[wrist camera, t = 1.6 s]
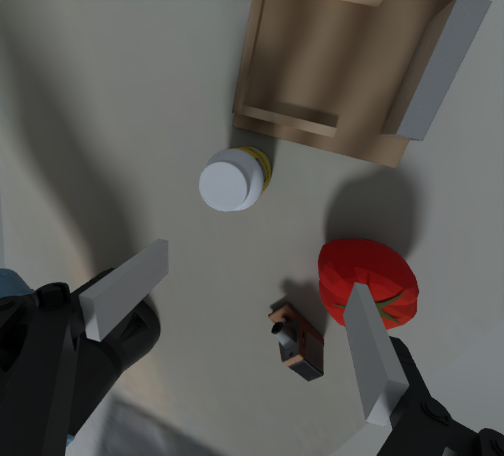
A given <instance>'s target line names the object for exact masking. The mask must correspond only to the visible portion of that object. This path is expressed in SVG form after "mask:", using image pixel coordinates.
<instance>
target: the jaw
mask: <svg viewBox="0 0 504 456" xmlns="http://www.w3.org/2000/svg"><path fill="white" fill-rule="evenodd" d="M491 3H492V1H489V0H453V1H452V2H450V3H449V4H448V5H447V6H446V7H445V8H444V9H443V10H442V11H440V12H439V13H438V14H437V15H436V16H435V17H434V18H433V19H432V20H431V21H429V22H428V23H427V25H426V27H425V29H424V32H423V34H422V36H421V39H420V41H419V44H418V46H417V48H416V51H415V53H414V55H413V58H412V60H411V62H410V65H409V67H408V69H407V72H406V74H405V76H404V79H403V81H402V84H401V86H400V88H399V91H398V93H397V95H396V98H395V100H394V102H393V105H392V107H391V109H390V112H389V114H388V117H387V119H386V121H385V124H384V126H383V128H382V131H381V133H380V135H384V136H388V137H392V138H396V139H400V140H417V141H423V139H424V137H425V135H426V133H427V131H428V129H429V127H430V125H431V123H432V121H433V119H434V117H435V115H436V113H437V111H438V109H439V107H440V105H441V103H442V101H443V99H444V97H445V95H446V93H447V91H448V89H449V87H450V85H451V83H452V81H453V79H454V77H455V75H456V73H457V71H458V69H459V67H460V65H461V63H462V61H463V59H464V57H465V55H466V53H467V51H468V49H469V47H470V45H471V43H472V41H473V39H474V37H475V35H476V33H477V31H478V29H479V27H480V25H481V23H482V21H483V19H484V17H485V15H486V13H487V11H488V9H489V7H490V5H491Z"/></svg>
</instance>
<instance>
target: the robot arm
mask: <svg viewBox="0 0 504 456" xmlns="http://www.w3.org/2000/svg"><path fill="white" fill-rule="evenodd" d="M167 274H168V241H167V240H162V239H157V240H156V241H154V242H153V243H152V244H150V245H149V246H147V247H146V248H145V249H143V250H142V251H140V252H139V253H137V254H136V255H135V256H133V257H132V258H130V259H129V260H128V261H126V262H125V263H123V264H122V265H121V266H119V267H118V268H116V269H114V268H111V269H108V270H106V271H103V272H102V273H100V274H99V275H97V276H96V277H95V278H93V279H91V280H90V281H89V282H87V283H85V284H84V285H82V286H81V287H79V288H78V289H76V290H75V291H74V292H72V293H71V294H70V290H69V286H68V284H66V283H62V282H56V283H50V284H47V285H44V286H42V287H40V288H38V289H37V290H36V291H34V290H33V289H30V288H29V286H28V285H27V284H26V283H25V282H24V281H23V279H22V278H21V277H20V276H19V275H18V274H17V273H16V272H15V271H13V270H10V269H4V268H1V269H0V456H65V451H66V447H67V446H68V444H69V443H70V442H72V441H73V440H74V438H75V437H74V436H75V435H76V434H77V432H78V431H79V430H80V428H81V427H82V426H83V424H84V423H85V422H86V420H87V419H88V418H89V416H90V415H91V414H92V413H93V411H94V410H95V409H96V407H97V406H98V405H99V403H100V402H101V401H102V399H103V398H104V397H105V395H106V394H107V393H108V391H109V390H110V389H111V387H112V386H113V385H114V383H115V382H116V381H117V379H118V378H119V377H120V375H121V374H122V373H123V372H124V371H125V370H126V369H128V368H129V367H130V366H132V365H133V364H134V363H135V362H137V361H138V360H139V359H141V358H142V357H143V356H145V355H146V354H147V353H148V352H149V351H150V350H151V349H152V348H153V346H154V345H155V344H156V342H157V341H158V339H159V336H160V326H159V322H158V320H157V318H156V316H155V314H154V313H153V311H152V310H151V309H150V308H149V307H148V306H147V305H146V304H145V303H144V302H143V301H142V299H143V298H144V297H145V296H146V295H147V294H148V293H149V292H150V291H151V290H152V289H153V288H154V287H155V286H156V285H157V284H158V283H159V282H160V281H161V280H162V279H163V278H164V277H165V276H166V275H167ZM343 317H344V322H345V327H346V331H347V336H348V341H349V345H350V350H351V354H352V359H353V364H354V368H355V373H356V378H357V382H358V387H359V392H360V396H361V401H362V405H363V410H364V415H365V419H366V421H367V422H370V423H373V424H377V425H380V426H384V427H385V425H386V423H387V422H388V420H389V419H390V422H391V425H392V429H393V430H392V432H391V433H390V435H389V436H388V438H387V440H386V441H385V443H384V444H383V446H382V448H381V449H380V451H379V453H378V454H377V456H504V435H503V434H501V433H499V432H497V431H495V430H493V429H488V428H484V429H482V430H480V432H479V433H476V432H474V431H473V430H471V429H469V428H467V427H465V426H464V425H462V424H460V423H458V422H456V421H455V420H453V419H452V418H451V415H450V414H449V413H448V411H447V410H446V408H445V407H444V406H443V405H441V404H440V403H439V402H438V401H437V400H435V399H434V398H432V397H431V395H430V393H429V391H428V389H427V387H426V385H425V383H424V381H423V379H422V376H421V374H420V372H419V370H418V368H417V367H416V364H415V362H414V360H413V359H412V356H411V354H410V352H409V350H408V348H407V347H406V345H405V344H404V343H403V342H402V341H401V340H400V339H399V338H395V337H391V336H388V333H387V331H386V328H385V326H384V324H383V321H382V319H381V317H380V314H379V312H378V309H377V307H376V305H375V302H374V300H373V298H372V295H371V293H370V290H369V288H368V286H367V285H365V284H361V283H356V282H355V283H354V286H353V289H352V292H351V294H350V297H349V300H348V302H347V305H346V308H345V311H344V313H343Z"/></svg>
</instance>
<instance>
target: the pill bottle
mask: <svg viewBox="0 0 504 456" xmlns="http://www.w3.org/2000/svg"><path fill="white" fill-rule="evenodd" d="M271 177H272V166H271V163H270V160H269V158H268V157H267V156H266V154H265V153H264V152H262V151H261V150H260V149H258V148H255V147H251V146H244V147H237V148H231V149H226V150H222V151H220V152H218V153H217V154H215V155H214V156H213V157H212V158H211V159H210V160H209V162H208V164H207V166H206V168H205V169H204V170H203V172H202V174H201V176H200V180H199V189H200V193H201V195H202V197H203V199H204V200H205V202H206V203H207V204H208V205H209V206H211V207H212V208H214V209H216V210H219V211H231V210H233V211H237V210H243V209H246V208H248V207H250V206H251V205H253V204H254V203H255V202H256V201H257V199H258V198H259V197H260V195H261V194H262V193H263V191H264V190H265V189H266V187H267V186H268V184H269V183H270V180H271Z"/></svg>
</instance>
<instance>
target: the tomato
mask: <svg viewBox="0 0 504 456" xmlns="http://www.w3.org/2000/svg"><path fill="white" fill-rule="evenodd" d="M318 270H319V278H320V280H319V292H320V296H321V300H322V302H323V304H324V306H325V308H326V309H327V311H328V312H329V313H330V315H331V316H332V317H333V318H334V319H335V320H336V321H337V322H338V323H339V324H340V325H342V326H345V322H344V317H343V313H344V311H345V308H346V305H347V302H348V300H349V297H350V294H351V292H352V289H353V286H354V283H355V282H356V283H361V284H365V285H367V286H368V288H369V290H370V293H371V295H372V298H373V300H374V302H375V305H376V307H377V309H378V312H379V314H380V317H381V319H382V321H383V324H384V326H385V328H386V330H387V329H391V328H394V327H397V326H401V325H404V324H405V323H407V322H408V321H409V320H411V319H412V318H413V317H414V316H415V314H416V312H417V297H418V294H419V289H418V285H417V281H416V277H415V275H414V274H413V272H412V270H411V269H410V267H409V266H408V264H407V262H406V261H405V260H404V259H403V258H402V257H401V256H400V255H399V254H398V253H397V252H396V251H394V250H392V249H391V248H389V247H388V246H386V245H384V244H381V243H378V242H374V241H371V240H367V239H340V240H333V241H331V242H329V243H327V244H325V245H323V246H322V249H321V251H320V254H319V259H318Z"/></svg>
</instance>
